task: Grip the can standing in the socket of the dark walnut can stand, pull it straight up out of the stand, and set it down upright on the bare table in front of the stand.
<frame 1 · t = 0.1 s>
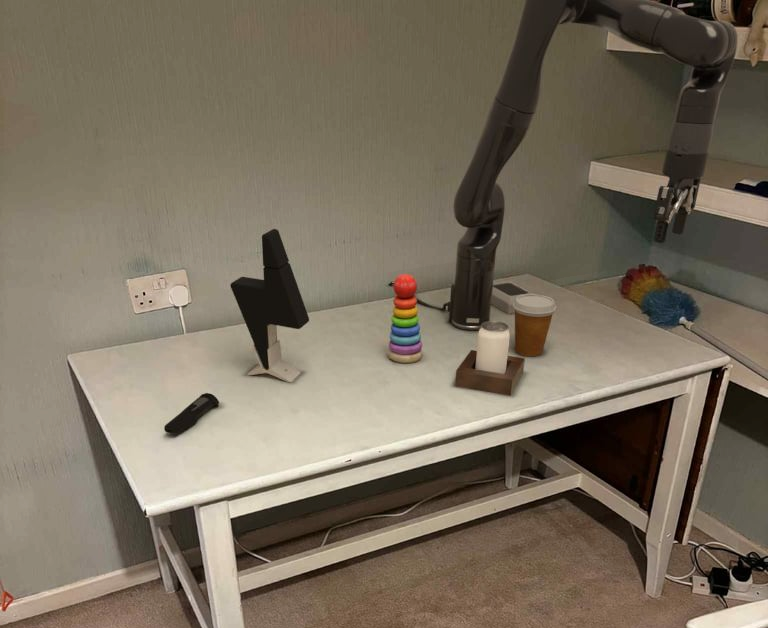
hand: (668, 237, 152), 29 cm above the table, tool pointing down, fingers open, 8 cm apart
can: (489, 380, 166), resting in can stand
disposable coffee cup: (528, 352, 179), on the table
electric trimmer: (193, 421, 149), on the table
can stand: (489, 379, 166), on the table
stacking toy: (405, 358, 175), on the table
keypad: (507, 302, 206), on the table
award: (275, 374, 167), on the table
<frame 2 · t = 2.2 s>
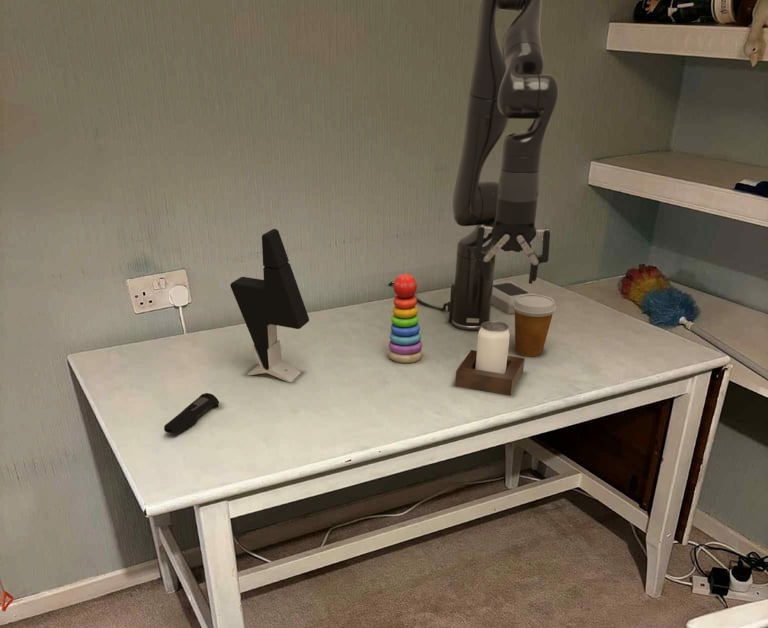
hand: (508, 281, 154), 21 cm above the table, tool pointing down, fingers open, 8 cm apart
nothing on the table moved.
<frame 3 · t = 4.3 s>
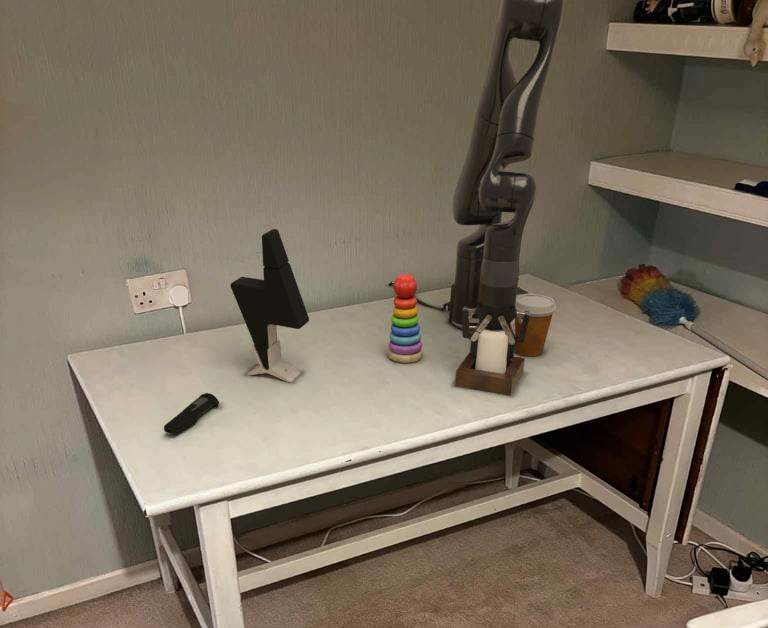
hand: (491, 357, 163), 5 cm above the table, tool pointing down, fingers closed on can, 6 cm apart
can: (489, 380, 166), resting in can stand, touching gripper
everything else where it was.
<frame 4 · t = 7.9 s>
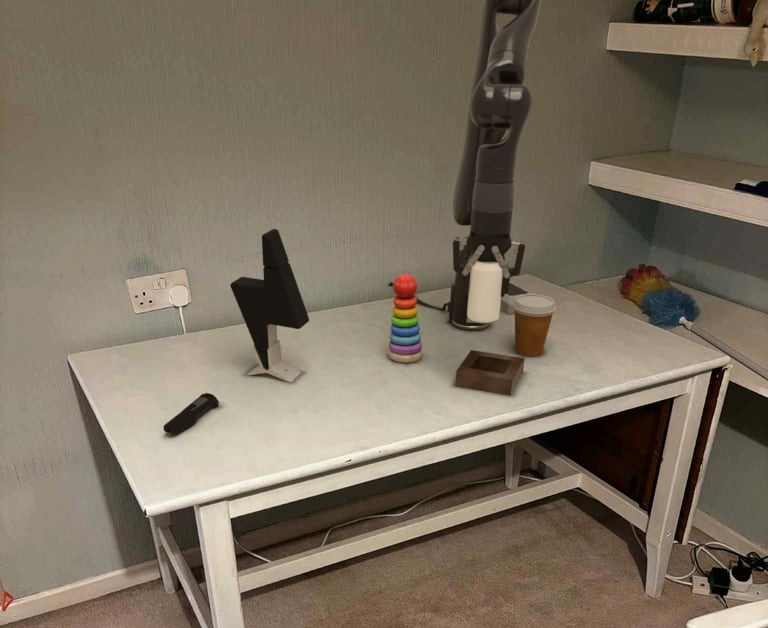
hand: (484, 294, 152), 20 cm above the table, tool pointing down, fingers closed on can, 6 cm apart
can: (482, 319, 155), point 14 cm above the table, touching gripper
everything else where it was.
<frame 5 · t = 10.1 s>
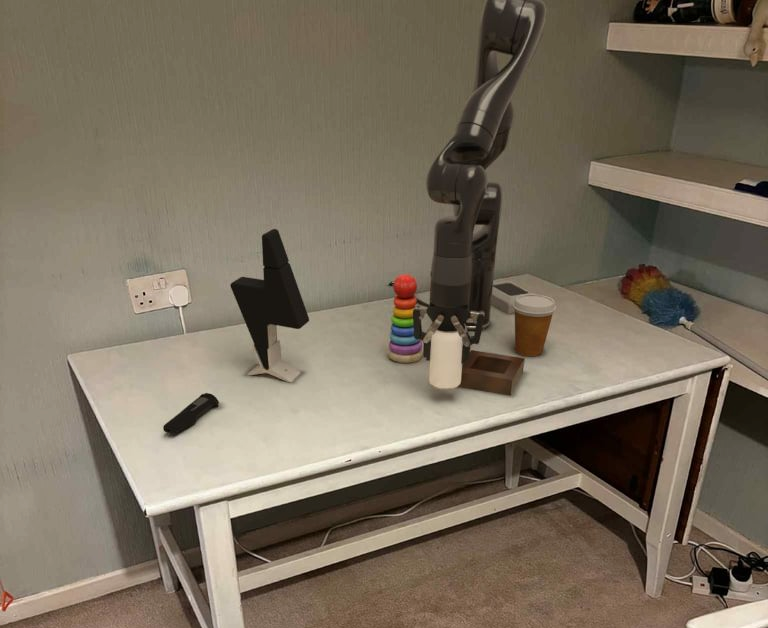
hand: (445, 360, 153), 8 cm above the table, tool pointing down, fingers closed on can, 6 cm apart
can: (444, 384, 156), point 3 cm above the table, touching gripper
everything else where it was.
when the fingers open (5 cm above the table, at t = 11.7 s): can stays where it is, on the table.
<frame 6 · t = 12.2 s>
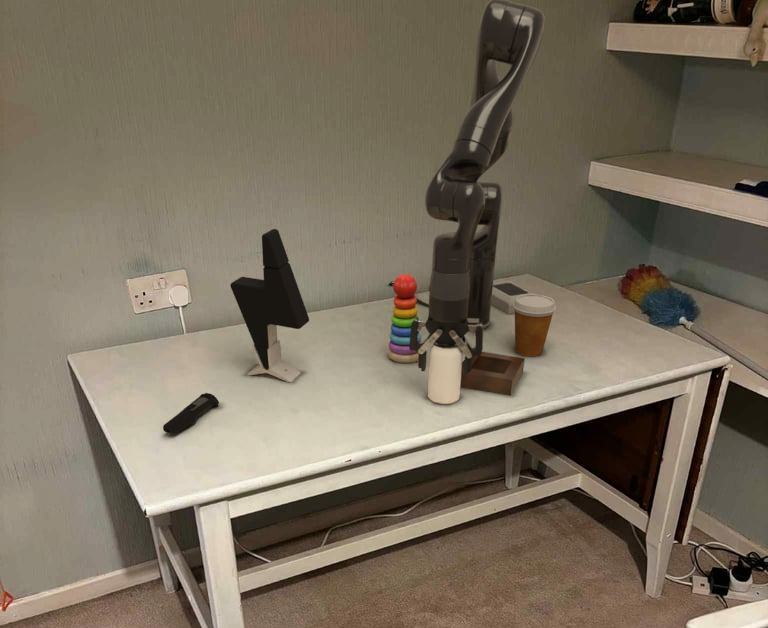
hand: (444, 371, 155), 6 cm above the table, tool pointing down, fingers open, 8 cm apart
can: (443, 398, 158), on the table
everything else where it was.
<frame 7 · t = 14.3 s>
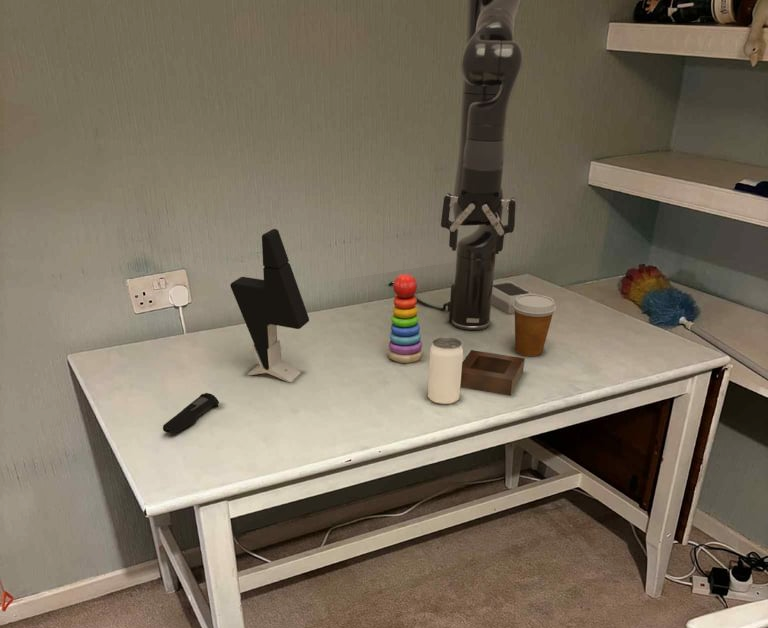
hand: (475, 251, 154), 26 cm above the table, tool pointing down, fingers open, 8 cm apart
nothing on the table moved.
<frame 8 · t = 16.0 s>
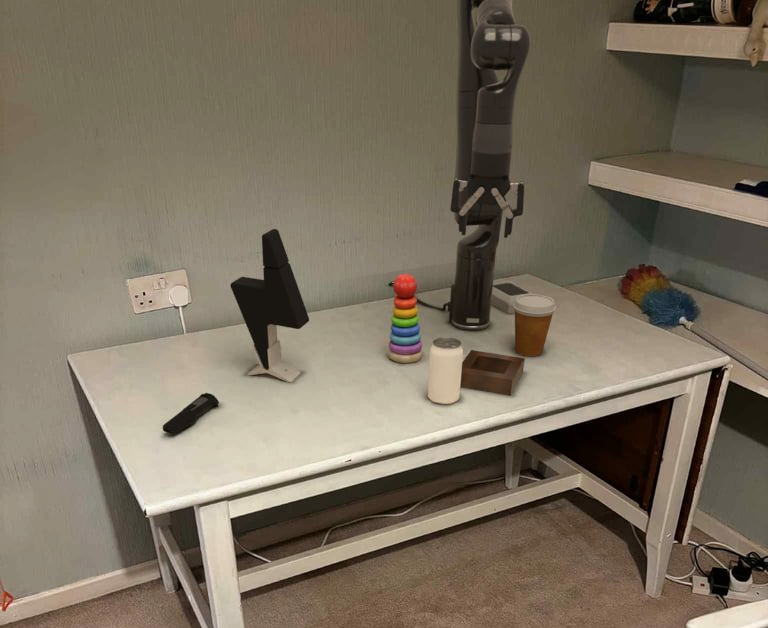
hand: (484, 235, 156), 28 cm above the table, tool pointing down, fingers open, 8 cm apart
nothing on the table moved.
at the end: can touching table; can inside the target area (0.1 cm from its centre), on the table; can tilted 0° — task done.
